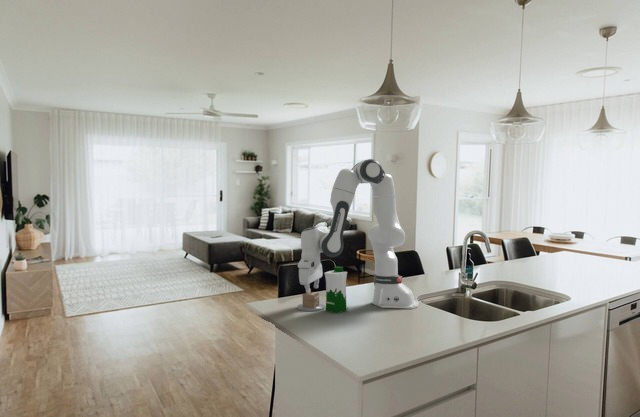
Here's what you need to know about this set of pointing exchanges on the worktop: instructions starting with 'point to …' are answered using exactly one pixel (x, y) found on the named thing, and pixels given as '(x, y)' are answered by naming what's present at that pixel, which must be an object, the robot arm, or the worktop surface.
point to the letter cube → (311, 300)
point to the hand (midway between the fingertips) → (312, 290)
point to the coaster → (318, 308)
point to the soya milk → (336, 290)
